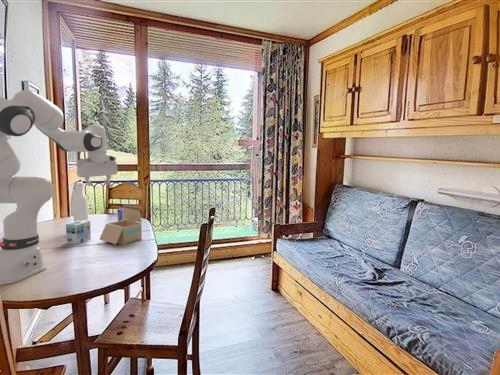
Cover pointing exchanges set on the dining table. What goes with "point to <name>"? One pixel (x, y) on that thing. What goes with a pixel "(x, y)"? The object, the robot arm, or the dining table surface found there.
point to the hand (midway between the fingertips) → (98, 184)
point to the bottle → (80, 204)
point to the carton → (122, 232)
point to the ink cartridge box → (121, 214)
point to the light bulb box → (78, 232)
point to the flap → (132, 213)
